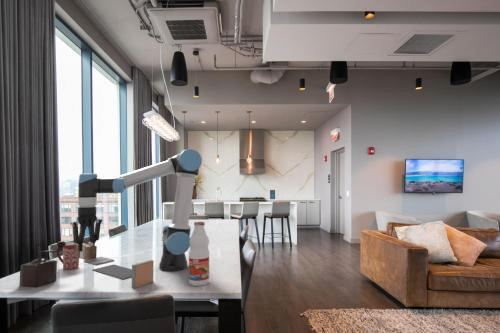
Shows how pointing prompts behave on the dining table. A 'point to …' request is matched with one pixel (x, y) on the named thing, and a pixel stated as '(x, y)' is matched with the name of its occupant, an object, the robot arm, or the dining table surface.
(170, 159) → the robot arm
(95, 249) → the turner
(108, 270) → the mat
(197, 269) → the fruit juice
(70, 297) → the dining table surface
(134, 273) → the tile
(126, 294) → the dining table surface
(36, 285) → the manual coffee grinder
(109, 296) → the dining table surface
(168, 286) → the dining table surface
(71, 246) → the mug
